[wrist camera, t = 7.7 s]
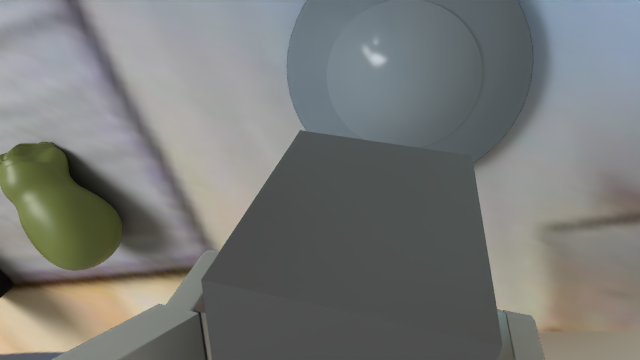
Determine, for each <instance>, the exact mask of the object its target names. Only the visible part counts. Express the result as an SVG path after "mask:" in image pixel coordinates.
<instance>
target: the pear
mask: <svg viewBox="0 0 640 360" xmlns="http://www.w3.org/2000/svg"><path fill="white" fill-rule="evenodd" d="M0 186H1V189H2V191H3V193H4V194H5V196H6V197H7V198H8V199H9V200H10V201H11V202H12V203H13V204H14V206H15V207H16V209H17V211H18V214H19V218H20V222H21V224H22V227H23V229H24V231H25V233H26V235H27V236H28V238H29V239H30V241H31V242H32V244H33V245H34V246H35V248H36V249H37V250H38V251H39V252H40V253H41V254H42V255H43V256H44V257H45V258H46V259H47V260H48V261H50V262H51V263H53V264H54V265H56V266H58V267H60V268H63V269H66V270H85V269H89V268H92V267H94V266H97V265H99V264H100V263H102V262H104V261H105V260H106V259H108V258H109V257H110V256H111V255H112V254H113V253H114V252H115V250H116V249H117V248H118V246H119V244H120V242H121V239H122V234H123V227H122V222H121V219H120V217H119V215H118V213H117V212H116V211H115V209H114V208H113V207H112V206H111V205H110V204H108V203H107V202H106V201H105V200H103V199H102V198H100V197H99V196H97V195H95V194H94V193H92V192H90V191H88V190H86V189H84V188H82V187H80V186H79V185H78V184H77V183H75V182H74V181H73V180H72V178H71V177H70V175H69V167H68V161H67V157H66V155H65V154H64V153H63V152H62V151H61V150H60V149H58V148H57V147H56V146H55V145H54V144H53V143H52V142H51V143H48V142H40V143H38V144H33V143H32V144H19V145H16V146H15V147H14V148H12V149H11V150H10V151H9V152H8V153H5V154H1V155H0Z"/></svg>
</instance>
